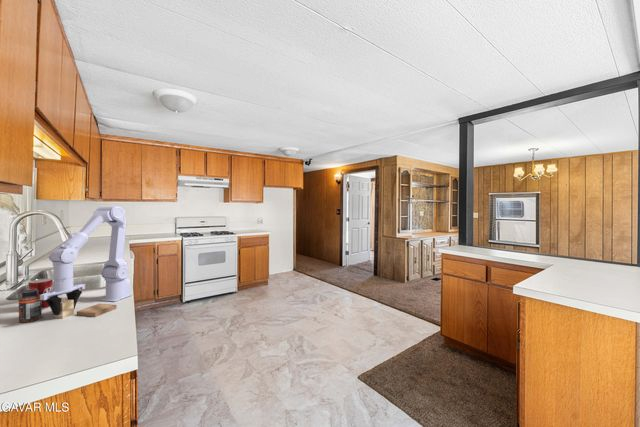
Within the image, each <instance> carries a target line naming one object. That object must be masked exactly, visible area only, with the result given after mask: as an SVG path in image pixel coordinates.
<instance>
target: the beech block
mask: <svg viewBox="0 0 640 427" xmlns="http://www.w3.org/2000/svg"><path fill="white" fill-rule="evenodd" d="M74 315H75V309H74V300H68V299H67V298H66V299H62V300H61V304H60V314H59V315H53V317H54V318H55V319H65V318H68V317H71V316H74Z"/></svg>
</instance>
